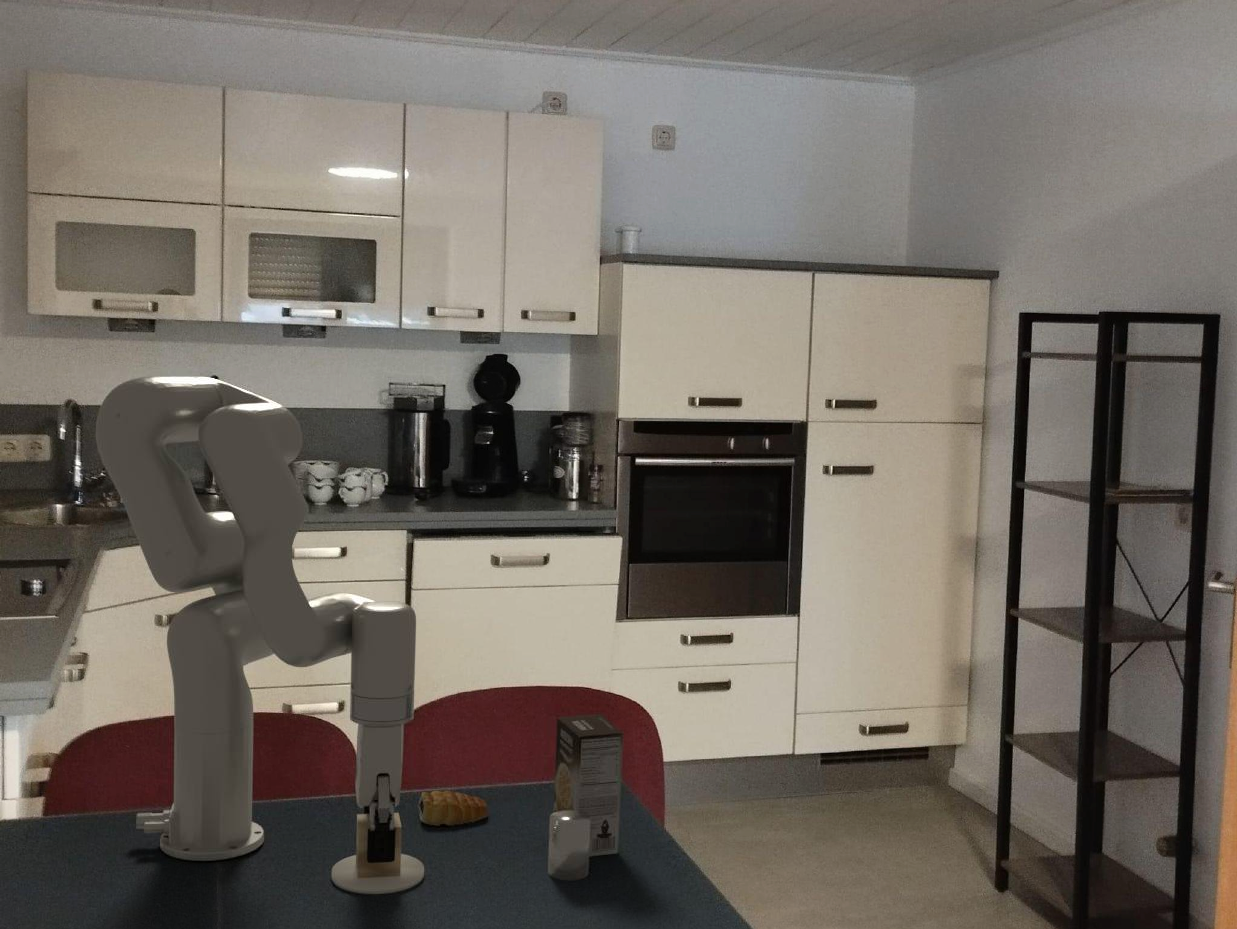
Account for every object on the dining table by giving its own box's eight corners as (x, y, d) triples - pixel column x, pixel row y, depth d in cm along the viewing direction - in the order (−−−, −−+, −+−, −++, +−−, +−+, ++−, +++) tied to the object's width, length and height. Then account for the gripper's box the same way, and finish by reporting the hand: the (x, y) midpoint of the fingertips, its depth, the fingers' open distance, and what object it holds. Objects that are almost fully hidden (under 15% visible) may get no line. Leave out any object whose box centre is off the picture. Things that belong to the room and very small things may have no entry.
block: (357, 878, 159) (358, 828, 158) (355, 862, 163) (357, 814, 163) (400, 875, 160) (401, 827, 159) (397, 860, 165) (398, 812, 164)
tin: (551, 881, 162) (553, 825, 161) (544, 865, 167) (546, 811, 166) (592, 879, 163) (594, 823, 163) (583, 863, 168) (585, 809, 167)
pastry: (482, 808, 187) (483, 782, 187) (491, 826, 181) (492, 798, 180) (415, 812, 184) (416, 785, 184) (422, 830, 178) (423, 802, 178)
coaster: (332, 896, 155) (332, 889, 155) (330, 860, 166) (330, 854, 166) (427, 891, 158) (428, 884, 158) (420, 856, 168) (420, 850, 168)
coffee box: (550, 834, 178) (554, 715, 176) (595, 829, 180) (600, 712, 179) (573, 859, 169) (578, 735, 168) (620, 854, 172) (625, 731, 170)
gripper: (347, 688, 167) (344, 823, 169) (352, 727, 151) (349, 877, 152) (408, 686, 169) (404, 820, 171) (419, 725, 152) (415, 873, 154)
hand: (378, 846), depth 161 cm, fingers open, 8 cm apart
